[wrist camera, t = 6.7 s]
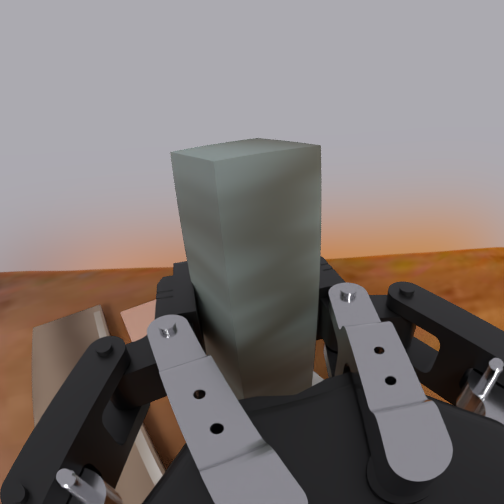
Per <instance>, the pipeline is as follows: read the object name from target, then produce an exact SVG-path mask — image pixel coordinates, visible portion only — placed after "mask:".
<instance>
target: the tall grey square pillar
mask: <svg viewBox="0 0 504 504" xmlns="http://www.w3.org/2000/svg"><path fill="white" fill-rule="evenodd" d="M171 161H172V168H173V176H174V183H175V190H176V196H177V203H178V209H179V216H180V222H181V228H182V234H183V240H184V246H185V251H186V257H187V262H188V268H189V273H190V278H191V282H192V283H193V286H194V291H195V296H196V301H197V306H198V311H199V316H200V321H201V325H202V330H203V335H204V342H205V348H206V354H207V355H211V357H212V358H213V360H214V361H215V363H216V365H217V366H218V368H219V370H220V372H221V373H222V375H223V377H224V378H225V380H226V382H227V383H228V385H229V387H230V388H231V390H232V392H233V393H234V395H235V397H236V398H237V400H241V399H246V398H251V397H255V396H285V395H295V394H298V393H300V392H302V391H304V390H306V389H308V388H310V387H312V386H314V385H315V384H317V383H319V382H321V381H323V380H324V379H322V378H321V377H320V376H319V375H318V374H317V373H315V372H314V371H313V369H314V357H315V345H316V331H317V316H318V299H319V278H320V250H321V246H320V245H321V146H320V145H313V144H306V143H298V142H290V141H281V140H270V139H261V138H256V139H247V140H240V141H233V142H226V143H220V144H213V145H207V146H201V147H195V148H190V149H184V150H179V151H174V152H171Z"/></svg>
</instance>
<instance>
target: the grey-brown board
mask: <svg viewBox="0 0 504 504" xmlns="http://www.w3.org/2000/svg"><path fill="white" fill-rule="evenodd" d="M106 336H110V333H109V329H108V326H107V323H106V319H105V316H104V313H103V310H102V308H101V305H97V306H95V307H92V308H89V309H86V310H83V311H80V312H77V313H75V314H72V315H69V316H66V317H63V318H60V319H57V320H54V321H52V322H49V323H46V324H43V325H40V326H37V327H34V328H33V338H32V398H33V414H34V426H36V425H37V423H38V422H39V420H40V418H41V417H42V415H43V414H44V412H45V410H46V409H47V407H48V406H49V404H50V403H51V401H52V399H53V398H54V396H55V395H56V393H57V392H58V390H59V389H60V387H61V386H62V384H63V383H64V381H65V380H66V378H67V377H68V375H69V374H70V372H71V371H72V369H73V368H74V366H75V365H76V364H77V362H78V361H79V359H80V358H81V356H82V355H83V354H84V352H85V351H86V349H87V348H88V347H89V345H90V344H91V343H93V342H94V341H95V340H97V339H99V338H102V337H106ZM165 471H166V469H165V467H164V465H163V463H162V461H161V459H160V457H159V455H158V453H157V451H156V449H155V447H154V445H153V443H152V441H151V439H150V437H149V435H148V432H147V430H146V428H145V426H144V423H142V425H141V428H140V430H139V432H138V435H137V437H136V439H135V442H134V444H133V447H132V449H131V451H130V454H129V456H128V459H127V461H126V463H125V466H124V468H123V471H122V473H121V476H120V478H119V481H118V483H117V486H116V488H115V490H116V491H117V492H118V493H119V495H120V496H121V499H122V502H123V504H142V503H143V501H144V500H145V499H146V497H147V496H148V495H149V493H150V492H151V491H152V489H153V488H154V487H155V485H156V484H157V482H158V481H159V480H160V478H161V477H162V476H163V474H164V473H165Z"/></svg>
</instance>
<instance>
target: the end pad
mask: <svg viewBox="0 0 504 504" xmlns="http://www.w3.org/2000/svg"><path fill="white" fill-rule="evenodd" d="M155 307H156V300H153V301H150V302H147V303H145V304H142V305H139V306H136V307H134V308H131V309H128V310H125V311H122V312H120V313H121V316H122V318H123V321H124V323H125V326H126V328H127V331H128V333H129V336H130V338H131V341H132V342H134V341H137V340H139V339H141V338H143V337H145V336H146V335H147V328H148V326H149V324H150V323H151V322H152V321H154V320H155Z"/></svg>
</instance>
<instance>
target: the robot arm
mask: <svg viewBox="0 0 504 504" xmlns="http://www.w3.org/2000/svg"><path fill="white" fill-rule="evenodd" d="M416 325H417V326H419V327H421V328H422V329H424V330H426V331H427V332H429V333H431V334H432V335H434V336H436V337H437V338H438V340H439V342H440V350H439V352H438V351H436V350H435V349H433V348H431V347H430V346H428V345H427V344H425V343H423V342H422V341H420V340H418V339H417V338H415V337H414V336H413V335H414V332H415V329H416ZM319 339H323V340H324V356H325V361H326V366H327V371H328V376H329V378H327V379H325V380H323V381H321V382H319V383H317V384H315V385H314V386H312V387H310V388H308V389H306V390H304V391H302V392H300V393H298V394H295V395H285V396H255V397H251V398H246V399H241V400H237V398H236V397H235V395H234V393H233V392H232V390H231V388H230V387H229V385H228V383H227V382H226V380H225V378H224V377H223V375H222V373H221V372H220V370H219V368H218V366H217V365H216V363H215V361H214V360H213V358H212V357H211V355H206V348H205V342H204V335H203V330H202V325H201V321H200V316H199V311H198V306H197V301H196V296H195V291H194V286H193V283H192V282H191V278H190V273H189V268H188V262H187V261H185V262H180V263H174V267H173V276H167V277H163V278H162V279H161V280H160V282H159V283H158V284H157V294H156V307H155V320H154V321H152V322H151V323H150V324H149V326H148V328H147V335H146V336H145V337H143V338H141V339H139V340H137V341H134V342H131V343H129V344H126V345H125V343H124V341H123V340H122V339H121V338H119V337H116V336H106V337H102V338H99V339H97V340H95V341H94V342H93V343H91V344H90V345H89V347H88V348H87V349H86V351H85V352H84V354H83V355H82V356H81V358H80V359H79V361H78V362H77V364H76V365H75V366H74V368H73V369H72V371H71V372H70V374H69V375H68V377H67V378H66V380H65V381H64V383H63V384H62V386H61V387H60V389H59V390H58V392H57V393H56V395H55V396H54V398H53V399H52V401H51V403H50V404H49V406H48V407H47V409H46V410H45V412H44V414H43V415H42V417H41V418H40V420H39V422H38V423H37V425H36V426H35V428H34V430H33V431H32V433H31V435H30V436H29V438H28V440H27V441H26V443H25V445H24V446H23V448H22V450H21V452H20V453H19V455H18V457H17V459H16V460H15V462H14V464H13V466H12V468H11V469H10V471H9V473H8V475H7V477H6V479H5V480H4V482H3V484H2V487H1V492H0V498H1V502H2V504H123V502H122V499H121V496H120V495H119V493H118V492H117V491H116V490H115V488H116V486H117V483H118V481H119V478H120V476H121V473H122V471H123V468H124V466H125V463H126V461H127V459H128V456H129V454H130V451H131V449H132V447H133V444H134V442H135V439H136V437H137V435H138V432H139V430H140V428H141V425H142V423H143V421H144V418H145V416H146V414H147V411H148V409H149V406H150V402H152V401H155V400H157V399H160V398H162V397H165V396H168V398H169V401H170V404H171V406H172V409H173V411H174V414H175V417H176V419H177V421H178V424H179V426H180V429H181V431H182V434H183V436H184V438H185V441H186V443H185V445H184V446H183V448H182V449H181V450H180V452H179V453H178V455H177V456H176V458H175V459H174V460H173V462H172V463H171V465H170V466H169V467H168V469H167V470H166V471H165V473H164V474H163V476H162V477H161V478H160V480H159V481H158V482H157V484H156V485H155V487H154V488H153V489H152V491H151V492H150V493H149V495H148V496H147V497H146V499H145V500H144V501H143V503H142V504H504V331H502V330H500V329H499V328H497V327H495V326H493V325H491V324H490V323H488V322H486V321H484V320H482V319H480V318H479V317H477V316H475V315H473V314H471V313H469V312H467V311H466V310H464V309H462V308H460V307H458V306H456V305H454V304H452V303H450V302H448V301H447V300H445V299H443V298H441V297H439V296H437V295H435V294H433V293H431V292H429V291H427V290H425V289H423V288H421V287H419V286H417V285H415V284H413V283H409V282H396V283H393V284H392V285H390V287H389V289H388V294H387V295H368V293H367V291H366V290H365V289H364V288H363V287H361V286H360V285H357V284H354V283H345V281H344V280H343V279H342V278H341V277H340V276H339V275H338V274H337V272H336V271H335V270H334V269H332V267H331V266H330V265H329V264H328V263H327V261H326V260H325V259H324V258H323V257H321V256H320V278H319V299H318V316H317V331H316V340H319ZM420 383H422V384H423V385H424V386H426V387H427V388H429V389H430V390H432V391H433V392H435V393H436V394H438V395H439V396H441V397H442V398H444V399H445V400H447V401H448V402H450V403H451V404H453V405H451V404H449V403H446V402H443V401H440V400H438V399H435V398H432V397H430V396H427V395H425V394H424V391H423V389H422V387H421V384H420Z"/></svg>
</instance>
